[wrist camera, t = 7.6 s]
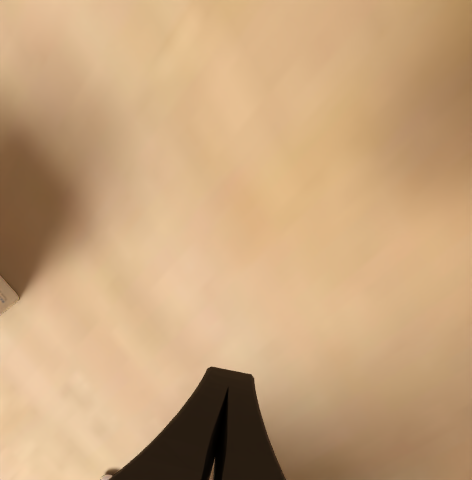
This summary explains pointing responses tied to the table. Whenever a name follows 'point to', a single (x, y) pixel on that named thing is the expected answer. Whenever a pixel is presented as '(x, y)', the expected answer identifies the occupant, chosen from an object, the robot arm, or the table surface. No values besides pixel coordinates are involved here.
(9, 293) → the light bulb box
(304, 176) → the table surface
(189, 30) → the table surface
